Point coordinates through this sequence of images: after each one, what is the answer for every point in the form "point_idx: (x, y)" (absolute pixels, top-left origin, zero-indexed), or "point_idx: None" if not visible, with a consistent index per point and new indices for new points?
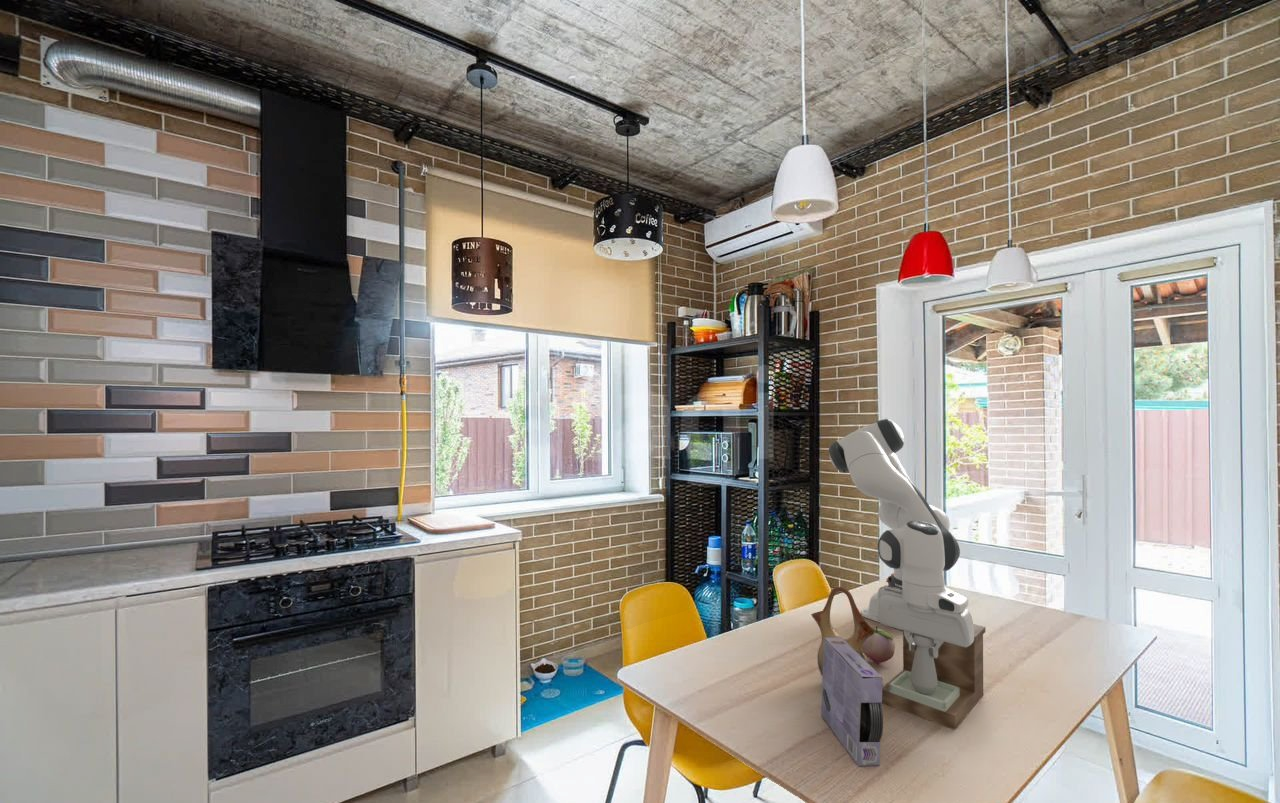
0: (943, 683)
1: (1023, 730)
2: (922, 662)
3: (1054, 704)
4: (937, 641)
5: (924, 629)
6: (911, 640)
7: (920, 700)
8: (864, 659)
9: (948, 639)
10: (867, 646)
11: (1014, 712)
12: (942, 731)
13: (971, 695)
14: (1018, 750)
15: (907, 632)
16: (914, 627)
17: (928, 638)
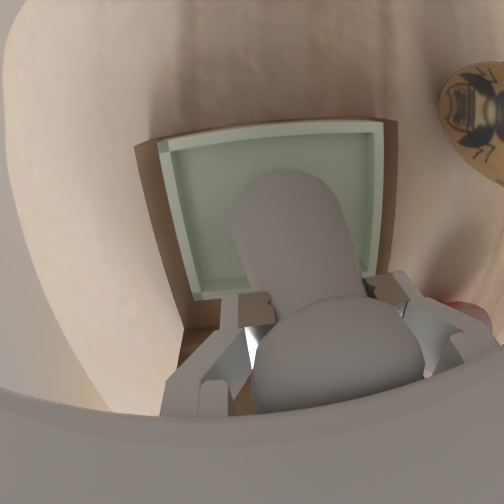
0: (243, 289)
1: (78, 278)
2: (293, 230)
3: (125, 391)
4: (191, 404)
5: (347, 485)
6: (418, 330)
7: (254, 125)
8: (500, 130)
9: (52, 429)
10: (473, 312)
11: (130, 334)
12: (167, 98)
13: (179, 309)
14: (37, 188)
15: (477, 351)
16: (469, 428)
17: (289, 402)
